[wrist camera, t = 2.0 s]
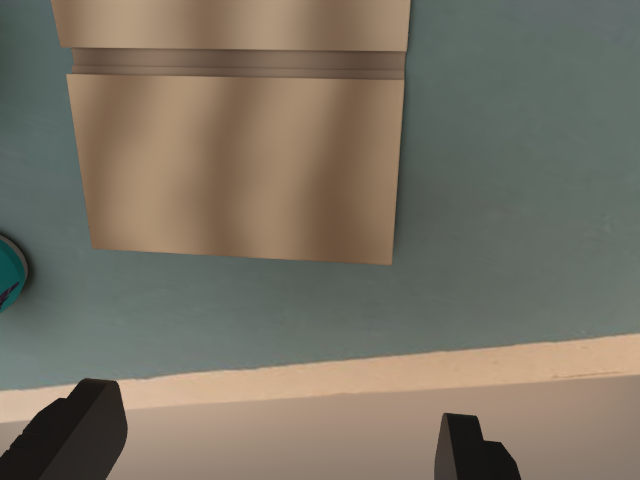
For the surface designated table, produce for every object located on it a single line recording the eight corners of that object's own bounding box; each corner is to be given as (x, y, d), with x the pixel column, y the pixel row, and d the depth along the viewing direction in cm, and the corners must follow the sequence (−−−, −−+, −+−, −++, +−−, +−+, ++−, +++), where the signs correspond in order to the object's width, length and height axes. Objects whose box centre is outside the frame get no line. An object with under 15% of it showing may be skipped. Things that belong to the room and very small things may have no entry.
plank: (403, 70, 25) (405, 70, 24) (390, 257, 29) (391, 265, 27) (78, 65, 27) (64, 65, 26) (102, 241, 30) (92, 248, 29)
